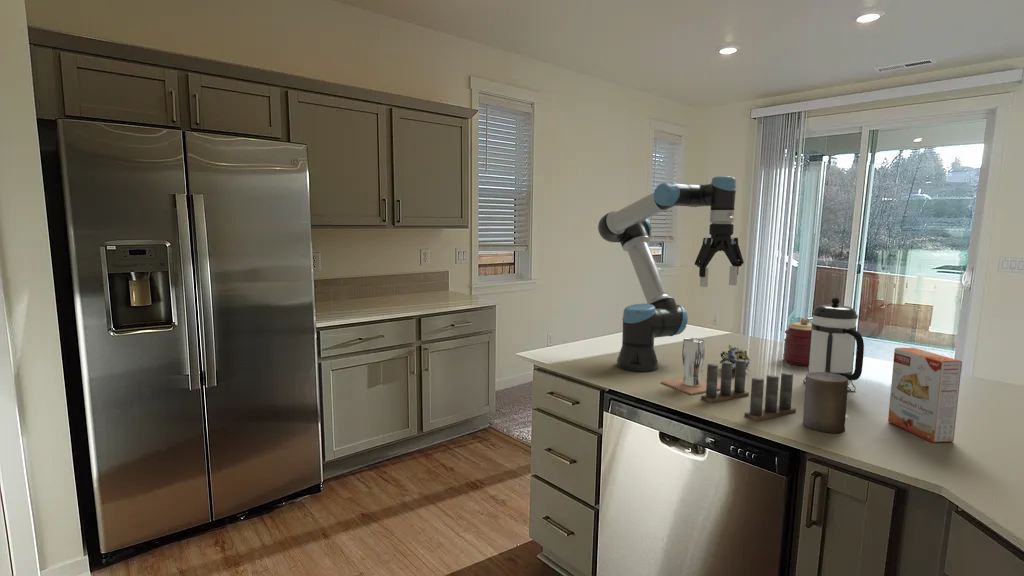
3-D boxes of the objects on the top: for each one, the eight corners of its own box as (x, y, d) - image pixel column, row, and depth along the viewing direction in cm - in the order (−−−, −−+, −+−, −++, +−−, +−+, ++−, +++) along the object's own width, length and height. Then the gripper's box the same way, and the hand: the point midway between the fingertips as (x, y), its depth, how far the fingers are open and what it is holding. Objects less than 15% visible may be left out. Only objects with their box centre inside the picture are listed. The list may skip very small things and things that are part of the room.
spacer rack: (701, 398, 158) (702, 364, 157) (738, 392, 165) (740, 358, 164) (756, 421, 140) (759, 381, 139) (795, 412, 147) (798, 374, 146)
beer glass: (704, 388, 167) (706, 342, 165) (682, 386, 169) (684, 341, 167) (701, 381, 174) (703, 338, 172) (679, 380, 175) (681, 337, 174)
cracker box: (886, 422, 140) (893, 347, 138) (906, 421, 141) (914, 346, 138) (932, 443, 126) (940, 360, 124) (954, 442, 127) (963, 360, 124)
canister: (785, 356, 211) (788, 314, 209) (822, 361, 204) (825, 317, 201) (780, 363, 201) (783, 318, 198) (818, 368, 193) (822, 322, 191)
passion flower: (740, 388, 186) (738, 367, 179) (713, 376, 194) (709, 355, 187) (757, 368, 190) (755, 346, 183) (729, 357, 198) (726, 335, 191)
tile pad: (661, 382, 174) (661, 381, 174) (692, 377, 180) (692, 376, 180) (691, 395, 162) (691, 393, 162) (723, 389, 168) (723, 387, 168)
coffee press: (796, 387, 170) (803, 298, 166) (809, 377, 181) (815, 293, 178) (859, 399, 158) (867, 303, 155) (868, 388, 170) (876, 298, 166)
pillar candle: (853, 431, 134) (858, 375, 132) (824, 435, 131) (828, 377, 129) (821, 418, 143) (825, 365, 141) (793, 421, 140) (797, 368, 139)
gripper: (702, 222, 164) (699, 288, 167) (757, 223, 175) (753, 285, 177) (685, 223, 171) (682, 286, 174) (739, 223, 182) (735, 283, 184)
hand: (718, 286), depth 176 cm, fingers open, 13 cm apart
